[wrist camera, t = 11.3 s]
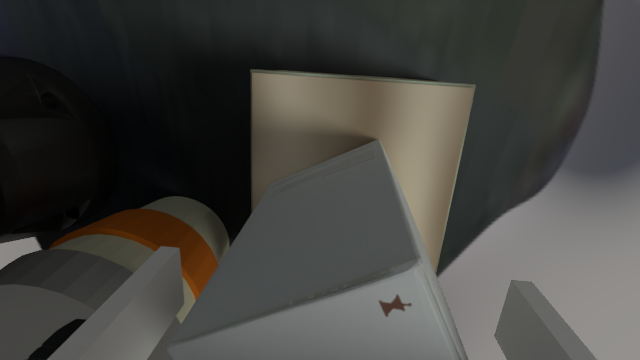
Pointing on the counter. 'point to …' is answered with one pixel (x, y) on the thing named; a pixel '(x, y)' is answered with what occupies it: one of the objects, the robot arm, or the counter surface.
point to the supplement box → (325, 275)
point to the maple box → (363, 133)
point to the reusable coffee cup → (105, 270)
